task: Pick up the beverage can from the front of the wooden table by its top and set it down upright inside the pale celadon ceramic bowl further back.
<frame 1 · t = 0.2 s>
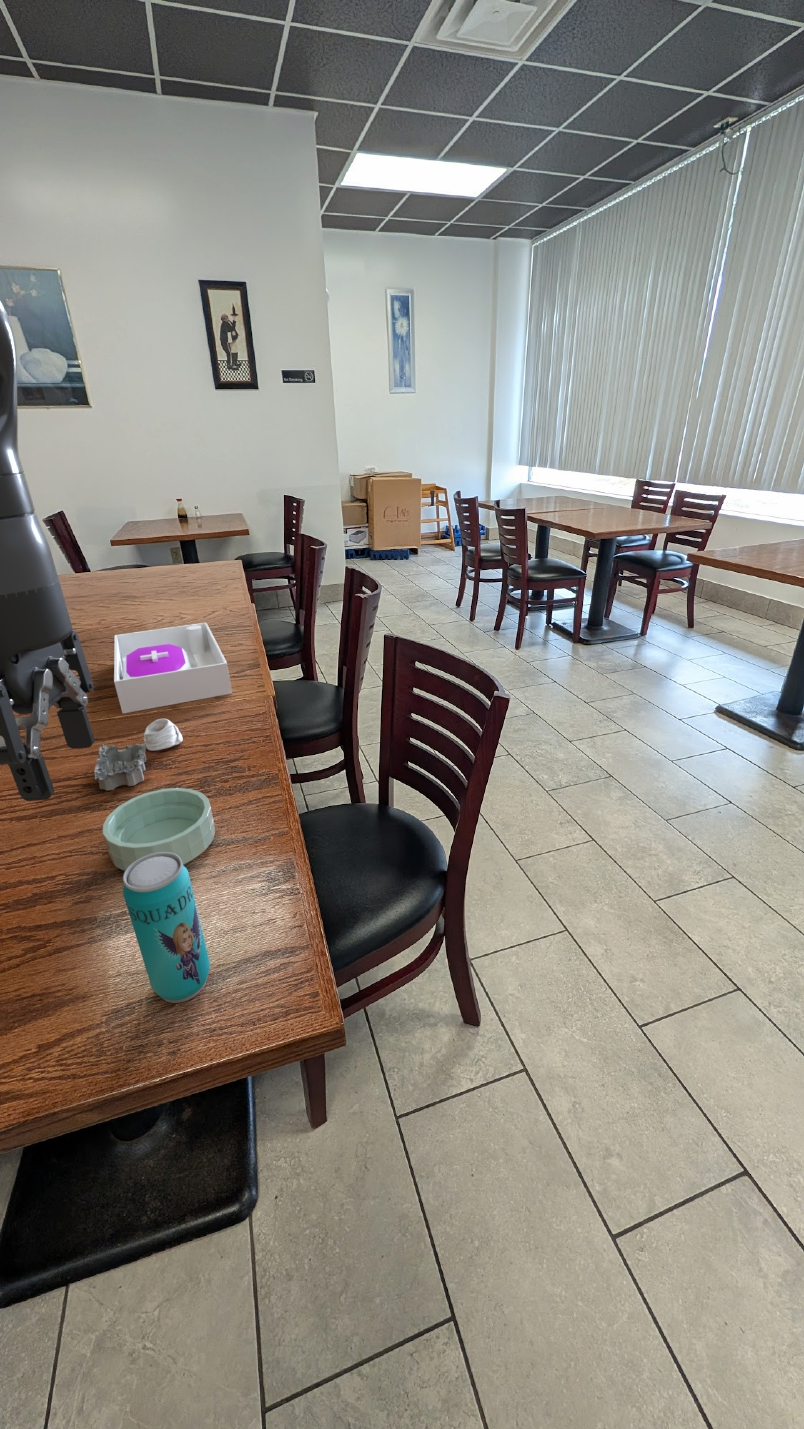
hand: (62, 770, 50), 25 cm above the table, tool pointing down, fingers open, 8 cm apart
white open box: (172, 677, 140), on the table
grey sculpture: (125, 774, 99), on the table
white hollow rounded piece: (165, 745, 108), on the table
bowl: (165, 845, 81), on the table
beverage can: (184, 985, 60), on the table
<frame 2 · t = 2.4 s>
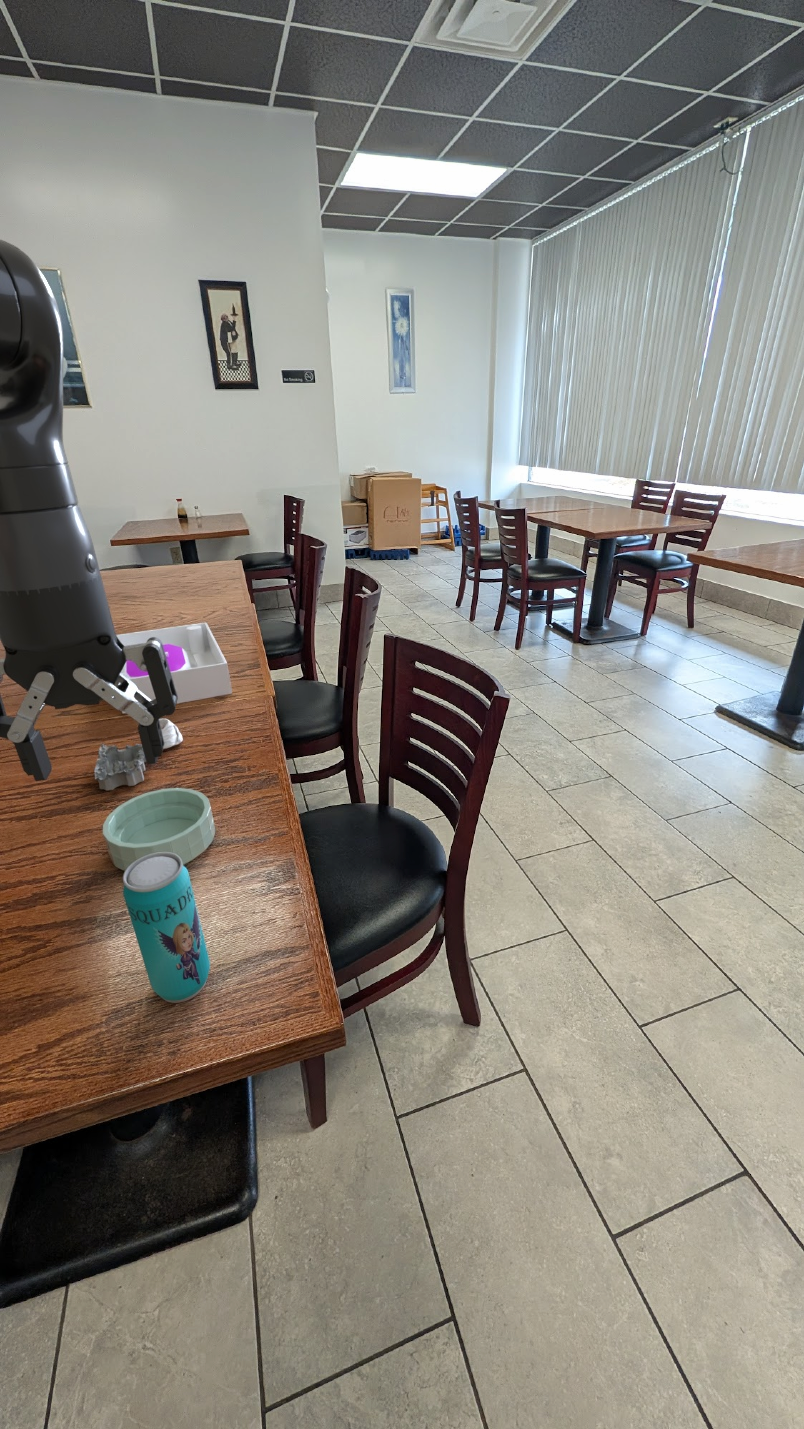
hand: (99, 767, 49), 26 cm above the table, tool pointing down, fingers open, 8 cm apart
nothing on the table moved.
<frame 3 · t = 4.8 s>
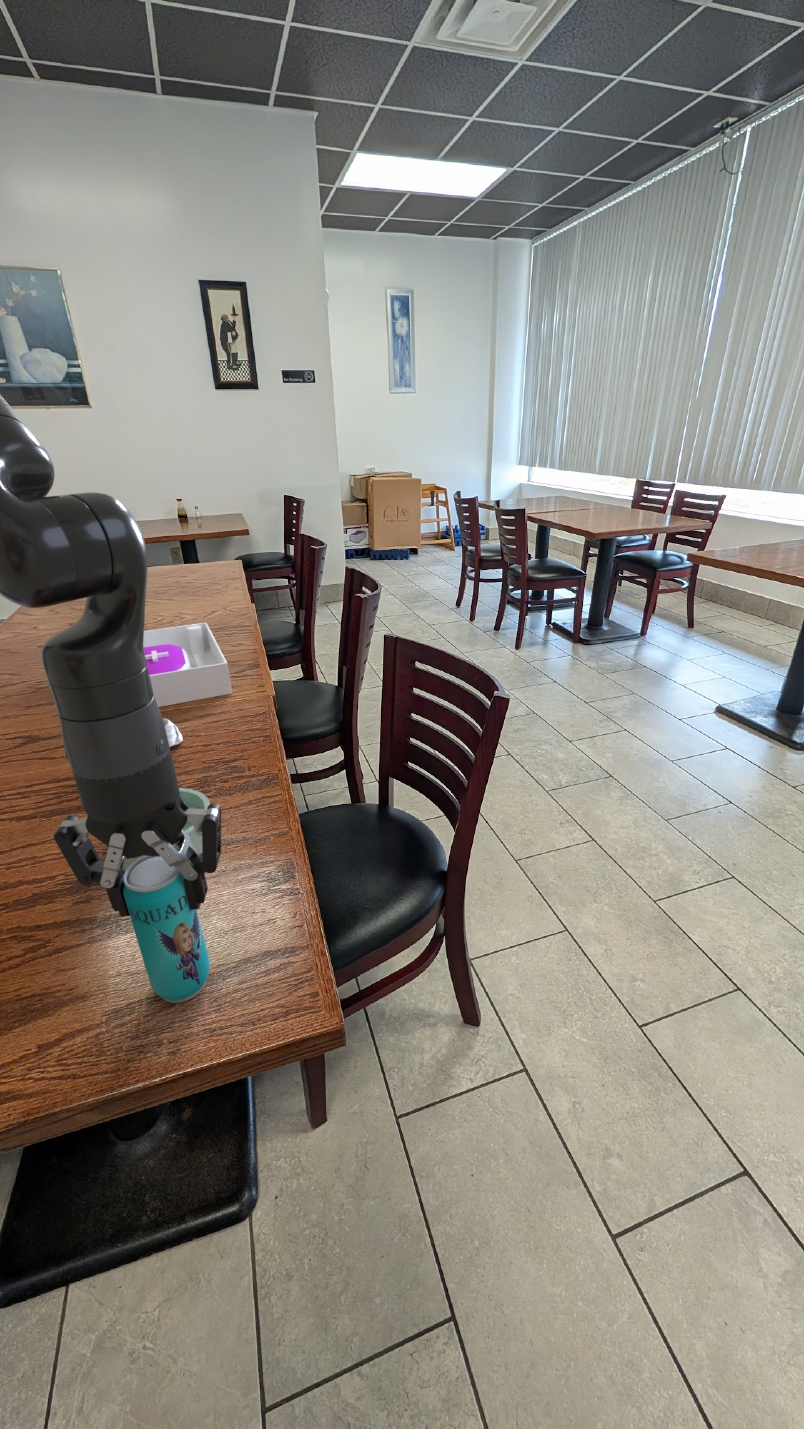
hand: (162, 906, 56), 11 cm above the table, tool pointing down, fingers closed on beverage can, 5 cm apart
beverage can: (184, 985, 60), on the table, touching gripper
everything else where it was.
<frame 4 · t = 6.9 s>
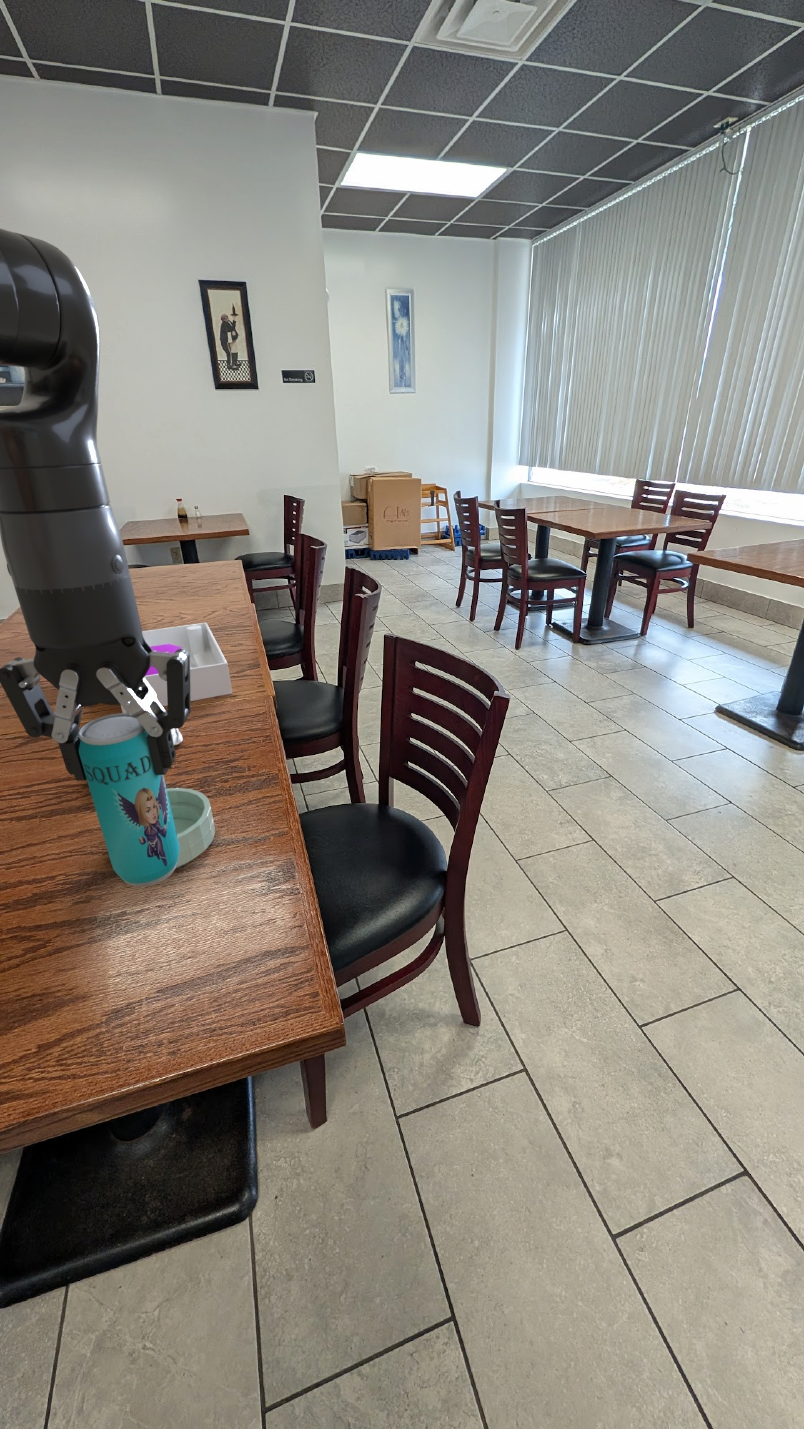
hand: (124, 772, 50), 25 cm above the table, tool pointing down, fingers closed on beverage can, 5 cm apart
beverage can: (150, 872, 54), point 14 cm above the table, touching gripper
everything else where it was.
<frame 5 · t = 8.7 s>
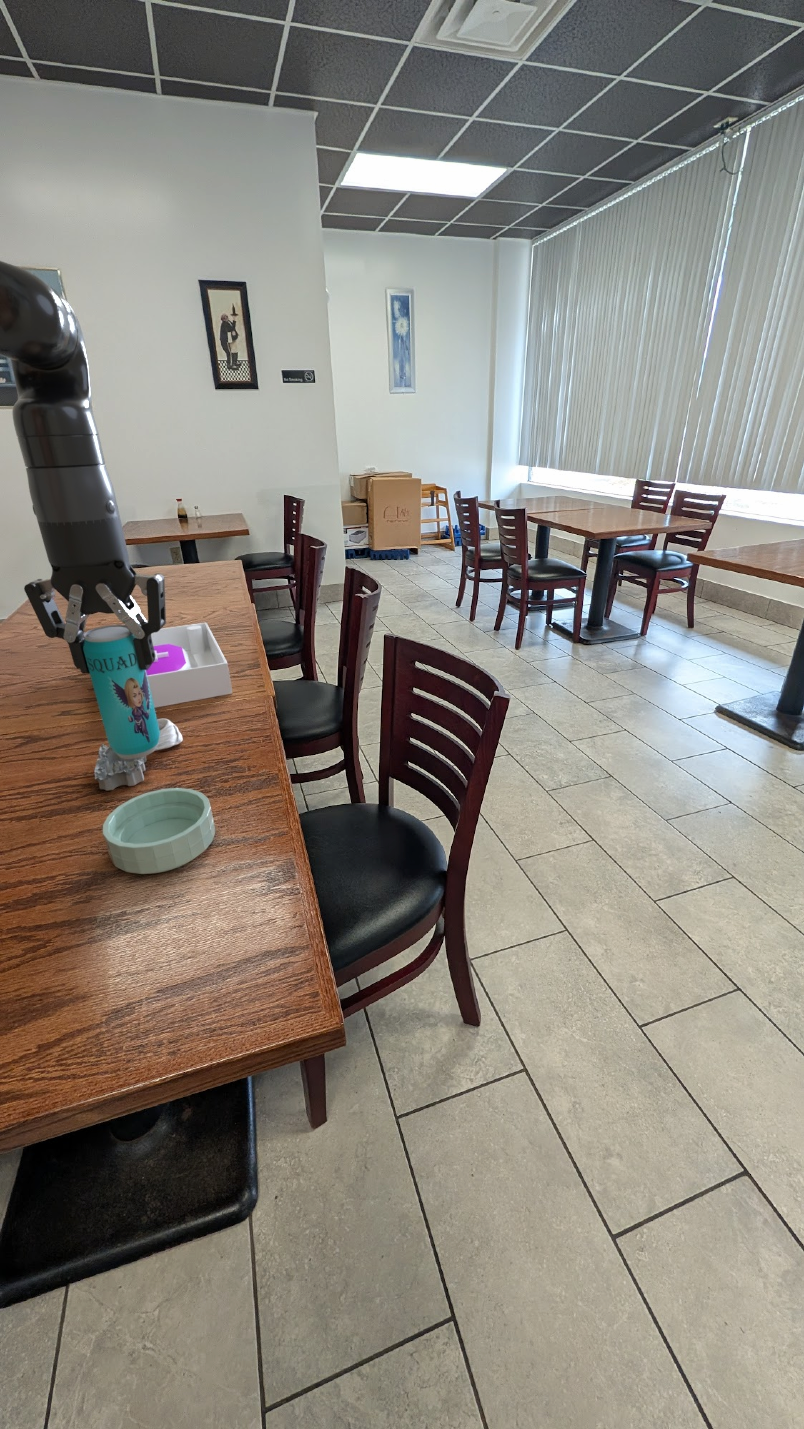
hand: (117, 668, 67), 27 cm above the table, tool pointing down, fingers closed on beverage can, 5 cm apart
beverage can: (138, 751, 71), point 17 cm above the table, touching gripper
everything else where it was.
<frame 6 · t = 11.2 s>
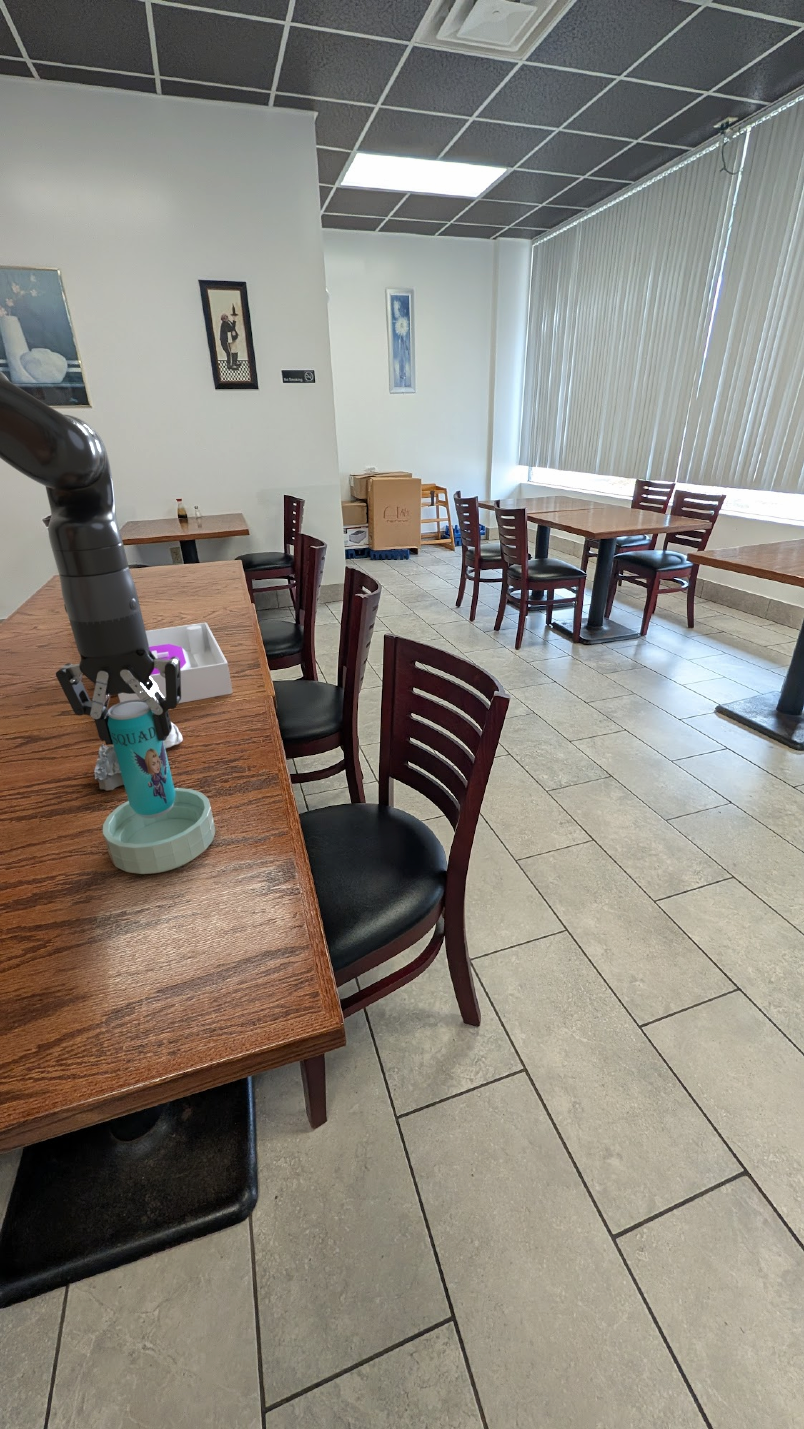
hand: (137, 739, 74), 17 cm above the table, tool pointing down, fingers closed on beverage can, 5 cm apart
beverage can: (155, 809, 79), point 6 cm above the table, touching gripper
everything else where it was.
when the fingers open (11 cm above the table, at t = 13.0 s): beverage can stays where it is, resting on bowl.
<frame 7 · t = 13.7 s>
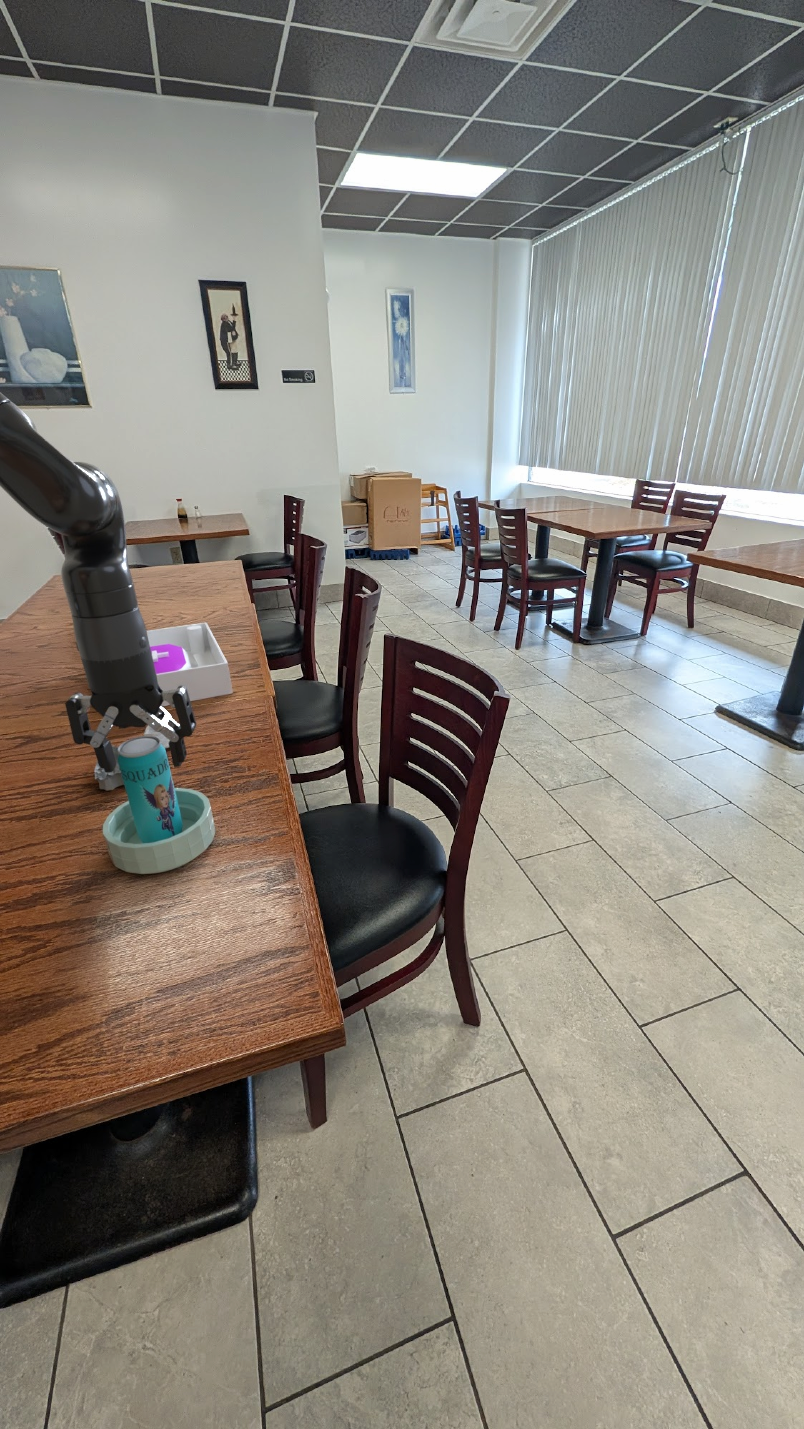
hand: (145, 766, 76), 13 cm above the table, tool pointing down, fingers open, 8 cm apart
beverage can: (163, 841, 81), point 1 cm above the table, touching bowl
everything else where it was.
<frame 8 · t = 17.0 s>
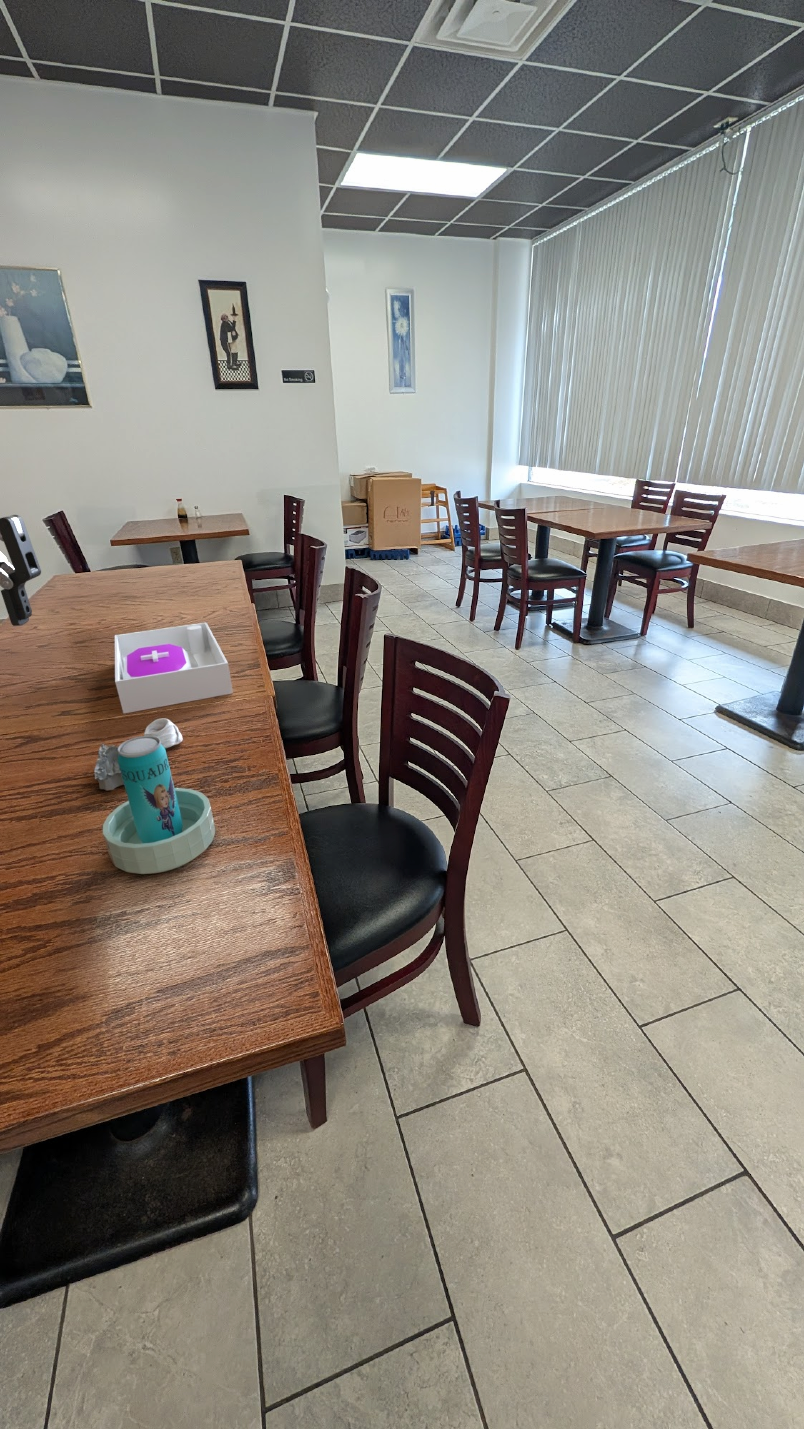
nothing on the table moved.
at the end: beverage can inside the target area in the bowl (0.1 cm from its centre), point 0.6 cm above the bowl's base; beverage can tilted 0°; the gripper is holding nothing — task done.
